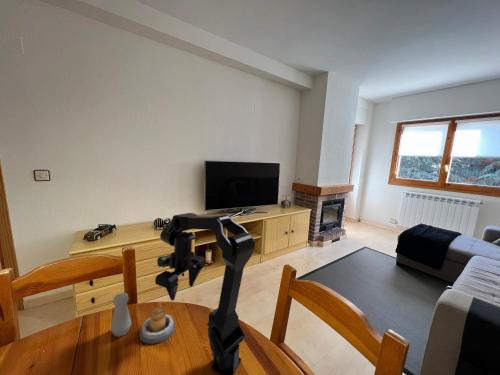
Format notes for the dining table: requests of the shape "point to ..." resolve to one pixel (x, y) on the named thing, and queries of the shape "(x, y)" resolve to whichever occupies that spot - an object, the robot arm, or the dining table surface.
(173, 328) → the grey shallow dish
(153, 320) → the beige tiered cylinder
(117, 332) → the salt shaker
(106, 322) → the dining table surface
